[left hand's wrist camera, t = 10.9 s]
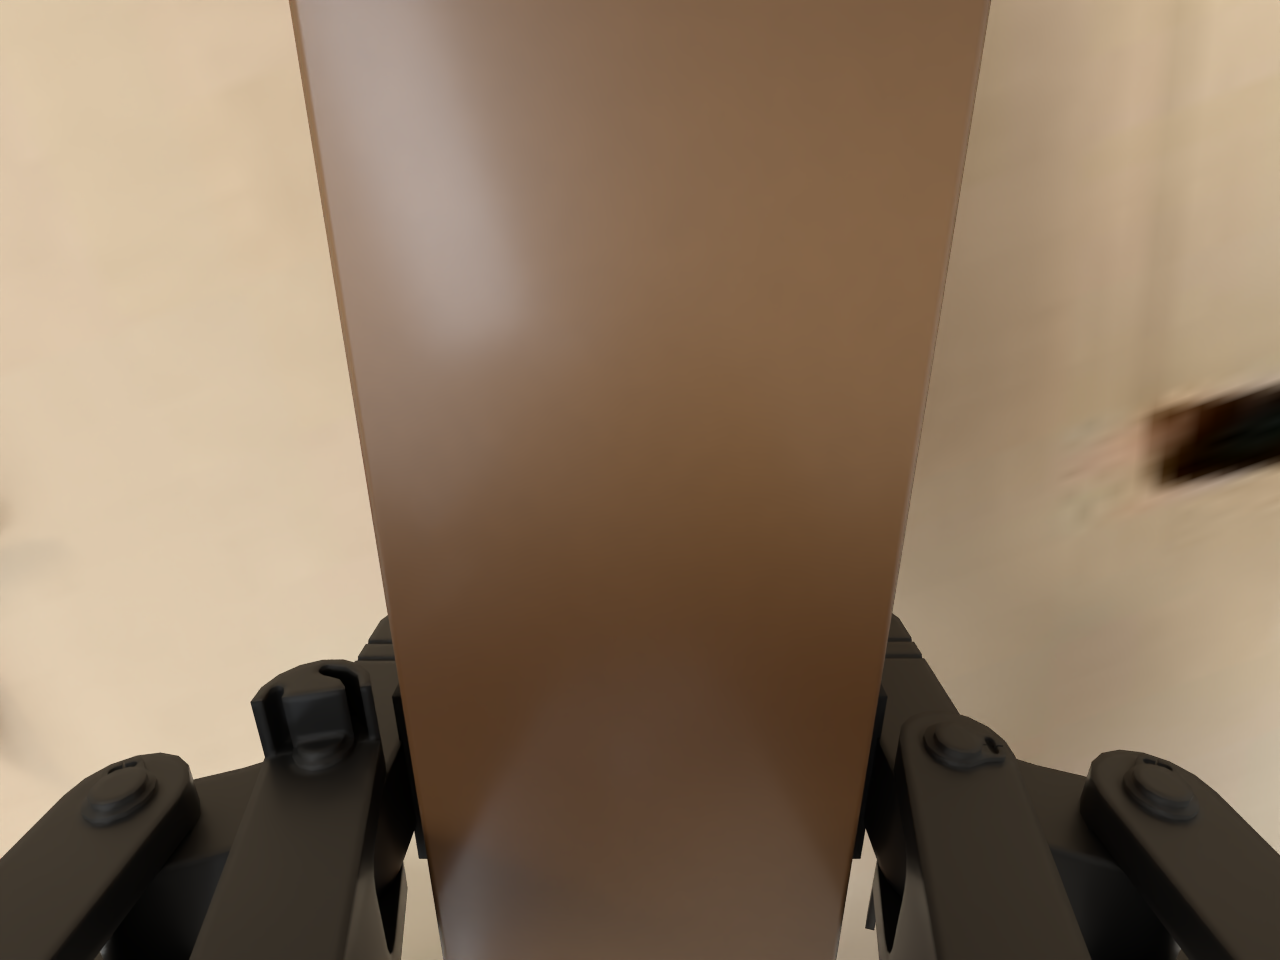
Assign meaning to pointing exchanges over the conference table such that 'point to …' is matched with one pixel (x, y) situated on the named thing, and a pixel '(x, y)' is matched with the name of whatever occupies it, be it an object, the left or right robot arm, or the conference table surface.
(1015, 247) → the conference table surface
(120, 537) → the conference table surface
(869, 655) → the post
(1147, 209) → the conference table surface
